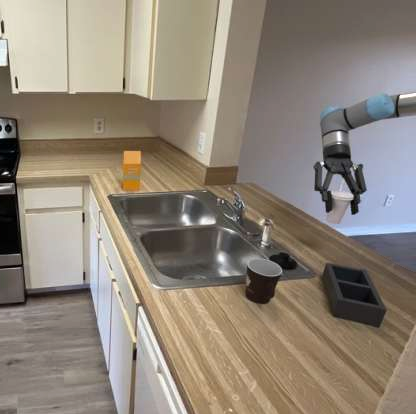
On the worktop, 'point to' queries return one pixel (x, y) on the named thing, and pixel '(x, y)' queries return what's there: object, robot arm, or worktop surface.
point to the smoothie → (339, 205)
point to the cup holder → (352, 295)
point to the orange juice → (131, 170)
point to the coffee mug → (261, 280)
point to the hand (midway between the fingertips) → (341, 212)
